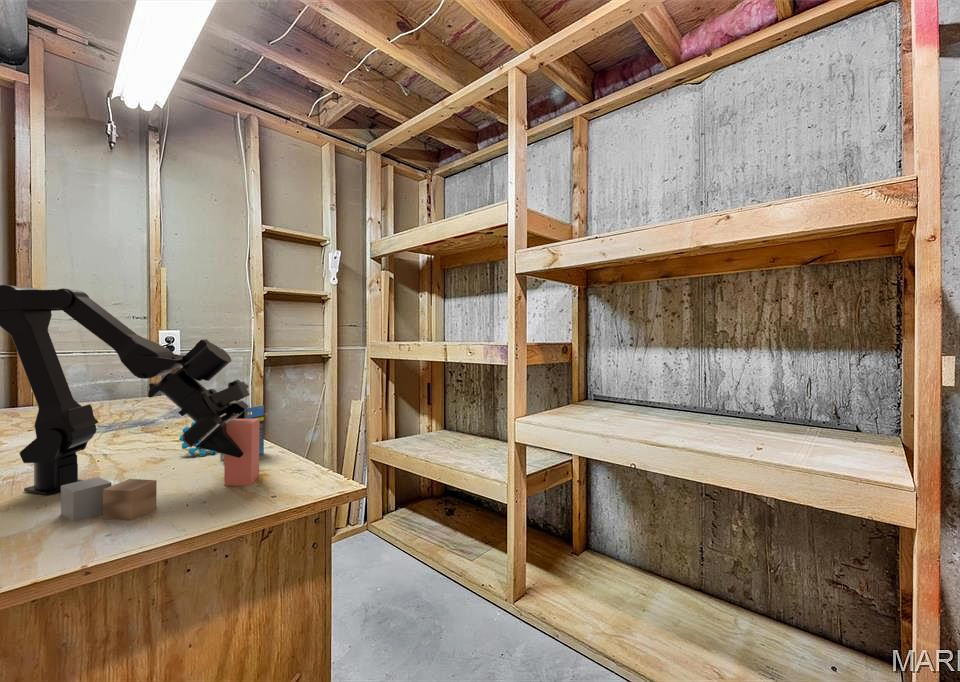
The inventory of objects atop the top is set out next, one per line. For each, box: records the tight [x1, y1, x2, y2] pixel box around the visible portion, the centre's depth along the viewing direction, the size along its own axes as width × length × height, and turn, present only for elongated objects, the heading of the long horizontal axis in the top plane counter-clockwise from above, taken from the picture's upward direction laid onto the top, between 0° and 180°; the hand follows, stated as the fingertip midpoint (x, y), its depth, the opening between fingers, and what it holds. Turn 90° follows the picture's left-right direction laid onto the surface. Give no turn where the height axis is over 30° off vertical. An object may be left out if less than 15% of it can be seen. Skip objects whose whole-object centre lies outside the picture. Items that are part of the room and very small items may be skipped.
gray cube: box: [60, 476, 112, 523], centre depth 73 cm, size 5×5×5 cm
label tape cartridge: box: [219, 405, 265, 462], centre depth 104 cm, size 9×4×12 cm, turn 152°
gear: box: [178, 421, 217, 457], centre depth 108 cm, size 11×6×10 cm
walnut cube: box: [102, 478, 158, 521], centre depth 73 cm, size 5×5×5 cm
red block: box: [223, 419, 260, 487], centre depth 89 cm, size 5×5×12 cm
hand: (249, 449), depth 89 cm, fingers open, 9 cm apart
